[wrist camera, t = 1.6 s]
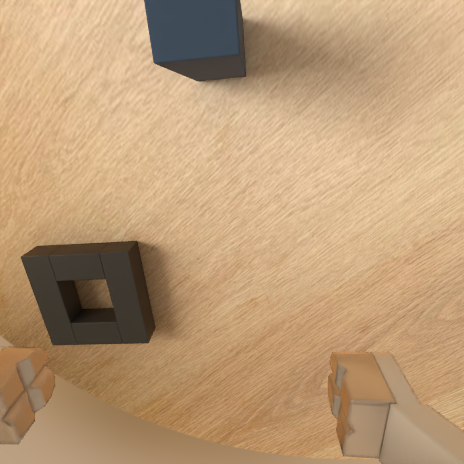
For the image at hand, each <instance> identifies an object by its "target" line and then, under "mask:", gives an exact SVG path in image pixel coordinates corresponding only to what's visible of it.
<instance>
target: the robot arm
mask: <svg viewBox="0 0 464 464" xmlns="http://www.w3.org/2000/svg"><path fill="white" fill-rule="evenodd" d="M48 360H49V357H48V355H47V352H46V350H45V349H42V348H30V347H0V444H19V443H20V441H21V440H22V439H23V437H24V436H25V434H26V433H27V431H28V430H29V428H30V427H31V426H32V424H33V423H34V421H35V412H37V411H38V410H40V409H41V408H42V407H44V406H45V405H46V404H47V402H48V401H49V399H50V398H51V396H52V393H53V390H54V387H55V376H54V373H53V370H52V369H51V368H49V367H48V366H47V365H46V363H47V361H48ZM330 366H331V369H332V373H331V374H330V375H329V376H328V397H329V403H330V407H331V411H332V414H333V415H334V416H335V417H336V418H337V428H336V431H337V435H338V438H339V442H340V446H341V450H342V453H343V456H348V457H363V458H378V459H379V461H380V462H381V463H382V464H464V431H463V430H461V429H460V428H459V427H457V426H456V425H455V424H453V423H452V422H450V421H449V420H448V419H446V418H445V417H444V416H442V415H441V414H440V413H438V412H437V411H435V410H434V409H433V408H431V407H430V406H429V405H421V403H420V401H419V400H418V398H417V396H416V394H415V393H414V391H413V389H412V387H411V386H410V384H409V382H408V380H407V379H406V377H405V375H404V373H403V372H402V370H401V368H400V366H399V365H398V363H397V361H396V359H395V358H394V356H393V355H392V354H391V353H390V352H370V353H369V352H332V354H331V357H330Z"/></svg>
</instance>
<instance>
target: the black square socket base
mask: <svg viewBox="0 0 464 464" xmlns="http://www.w3.org/2000/svg"><path fill="white" fill-rule="evenodd" d="M21 259H22V262H23V265H24V268H25V270H26V273H27V276H28V279H29V281H30V284H31V287H32V290H33V292H34V295H35V298H36V300H37V303H38V306H39V309H40V311H41V314H42V317H43V320H44V322H45V325H46V328H47V331H48V333H49V336H50V339H51V342H52V344H53V345H85V344H134V343H149V341H150V339H151V336H152V334H153V332H154V330H155V324H154V319H153V315H152V310H151V305H150V300H149V296H148V291H147V286H146V281H145V276H144V272H143V267H142V262H141V257H140V253H139V248H138V243H137V241H128V242H110V243H90V244H71V245H50V246H37V247H35V248H33V249H32V250H30V251H29V252H27V253H26V254H24V255H23V256H21ZM93 279H106V281H107V285H108V288H109V292H110V296H111V300H112V304H113V307H114V308H107V309H83V310H82V307H81V303H80V300H79V297H78V293H77V290H76V287H75V284H74V280H93Z"/></svg>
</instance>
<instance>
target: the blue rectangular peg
mask: <svg viewBox="0 0 464 464" xmlns="http://www.w3.org/2000/svg"><path fill="white" fill-rule="evenodd" d="M144 2H145V9H146V15H147V22H148V28H149V35H150V41H151V48H152V54H153V61H154V63H155V64H157V65H160V66H162V67H164V68H167V69H169V70H172V71H174V72H176V73H179V74H181V75H184V76H186V77H189V78H191V79H193V80H196V81H205V80H215V79H225V78H236V77H245V76H246V68H245V52H244V35H243V18H242V11H241V3H240V0H144Z"/></svg>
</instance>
